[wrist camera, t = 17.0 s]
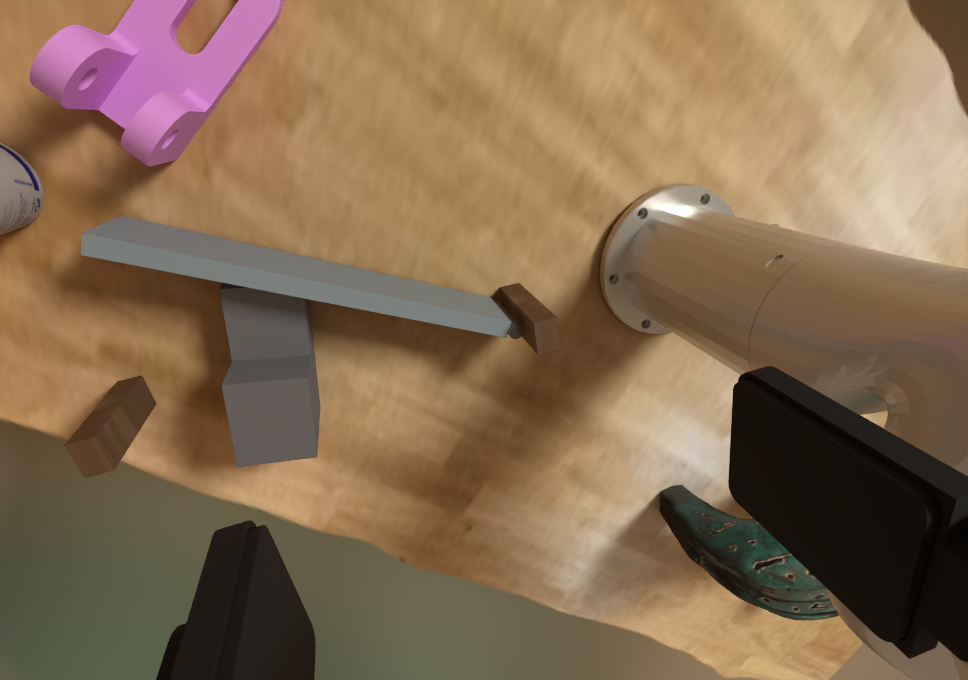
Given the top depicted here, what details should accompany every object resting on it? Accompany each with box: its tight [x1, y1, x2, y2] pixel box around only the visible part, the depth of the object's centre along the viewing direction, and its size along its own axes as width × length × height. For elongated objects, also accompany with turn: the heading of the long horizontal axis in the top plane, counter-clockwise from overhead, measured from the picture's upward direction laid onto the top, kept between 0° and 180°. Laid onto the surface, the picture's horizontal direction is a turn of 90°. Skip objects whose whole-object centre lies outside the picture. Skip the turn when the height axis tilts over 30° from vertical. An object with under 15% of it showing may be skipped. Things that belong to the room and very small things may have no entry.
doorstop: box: [219, 283, 320, 467], centre depth 35 cm, size 5×11×7 cm, turn 178°
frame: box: [65, 283, 560, 478], centre depth 36 cm, size 30×2×8 cm, turn 99°
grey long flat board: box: [81, 216, 523, 339], centre depth 34 cm, size 26×1×6 cm, turn 73°
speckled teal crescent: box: [660, 485, 839, 620], centre depth 48 cm, size 20×6×20 cm, turn 97°
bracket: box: [30, 0, 283, 167], centre depth 27 cm, size 13×6×7 cm, turn 137°
